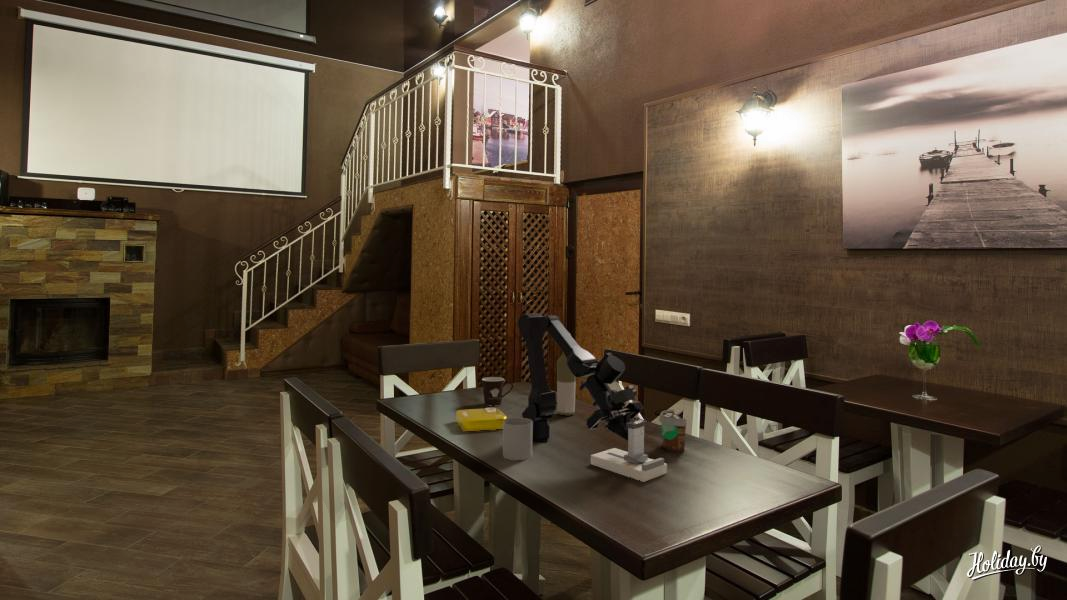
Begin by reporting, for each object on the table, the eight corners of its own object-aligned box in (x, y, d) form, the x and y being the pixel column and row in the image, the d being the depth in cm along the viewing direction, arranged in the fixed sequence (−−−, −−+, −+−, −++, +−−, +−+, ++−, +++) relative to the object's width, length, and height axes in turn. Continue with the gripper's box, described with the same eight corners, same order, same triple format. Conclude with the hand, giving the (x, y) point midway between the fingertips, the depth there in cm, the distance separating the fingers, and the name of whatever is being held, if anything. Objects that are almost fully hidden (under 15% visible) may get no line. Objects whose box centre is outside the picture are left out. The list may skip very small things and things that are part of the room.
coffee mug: (479, 406, 229) (479, 380, 229) (484, 401, 238) (485, 376, 237) (508, 408, 228) (509, 382, 227) (513, 402, 236) (513, 377, 235)
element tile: (455, 422, 208) (455, 408, 208) (497, 419, 212) (497, 405, 212) (463, 433, 194) (463, 419, 193) (508, 430, 198) (508, 416, 198)
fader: (623, 460, 158) (623, 422, 157) (636, 456, 162) (637, 418, 161) (635, 464, 155) (635, 425, 154) (648, 459, 159) (649, 421, 158)
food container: (653, 441, 186) (654, 409, 185) (672, 440, 186) (673, 409, 186) (665, 453, 174) (666, 419, 173) (685, 453, 174) (686, 419, 174)
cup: (510, 462, 165) (510, 426, 164) (498, 453, 172) (498, 419, 171) (537, 457, 169) (537, 423, 168) (524, 449, 176) (524, 416, 175)
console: (590, 464, 164) (590, 449, 163) (614, 456, 170) (614, 442, 170) (643, 481, 150) (643, 466, 150) (666, 473, 157) (667, 458, 157)
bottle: (563, 411, 223) (564, 331, 222) (579, 413, 219) (580, 332, 218) (552, 414, 218) (553, 333, 216) (568, 417, 214) (569, 334, 212)
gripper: (594, 380, 156) (627, 431, 148) (639, 372, 168) (671, 418, 161) (572, 405, 162) (603, 454, 154) (617, 395, 174) (647, 441, 167)
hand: (632, 441), depth 159 cm, fingers closed
